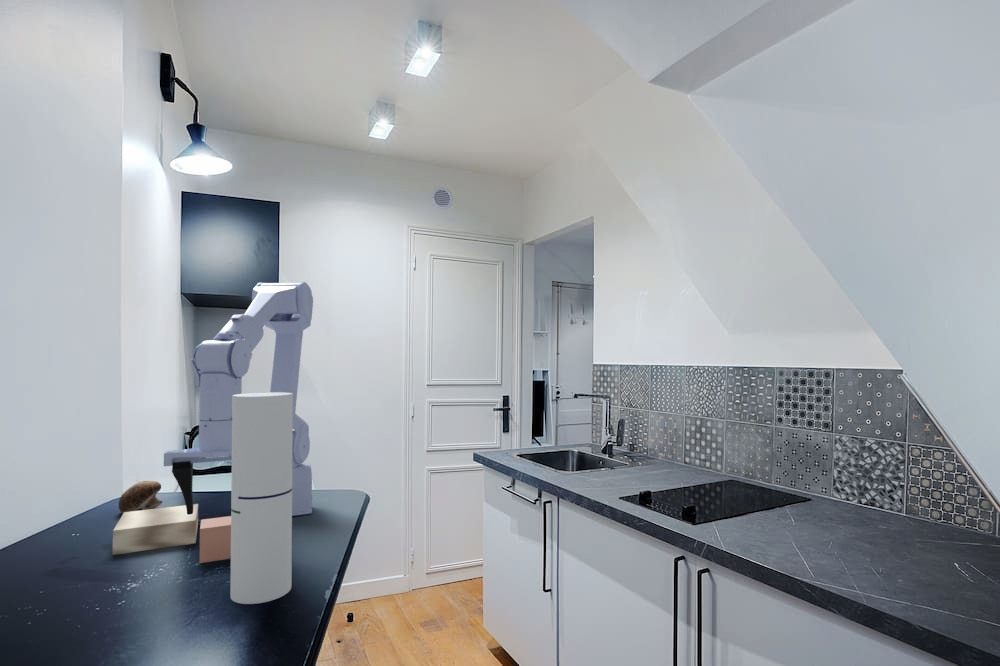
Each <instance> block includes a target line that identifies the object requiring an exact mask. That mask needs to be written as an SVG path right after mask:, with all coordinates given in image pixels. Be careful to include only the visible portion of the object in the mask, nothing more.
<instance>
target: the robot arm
mask: <svg viewBox="0 0 1000 666" xmlns="http://www.w3.org/2000/svg"><path fill="white" fill-rule="evenodd" d="M251 292H252V294H251V301H252V302H251V303H250V305H249V306H248V307H247V309H246V311H245V312H244V313H241V314H233V315H232V316H231V317H230V319H229V321H227V323H226V324H225V325H224V326H223V327H222V329H221V330H219V331H218V332H217V333H216V335H215V336H214V337H212V338H213V339H211V340H204V341H202V342H201V343H200V344H198V345H196V347H195V348H194V350H193V353H192V358H190V365H191V369H192V372H193V374H194V378H195V386H196V389H197V390H199V403H198V404H199V411H198V413H199V414H198V419H199V420H198V447H193V448H187V449H176V450H166V451H164V453H163V467H171V468H172V469H171V473H172V475H173V476H174V479H175V481H176V482H177V484H178V486H179V488H180V490H181V493H182V495H183V499H184V502H185V505H186V508H187V515H189V514H193V504H194V493H193V477H194V476H193V473H194V464H199V463H200V464H201V463H209V462H210V463H211V462H223V461H224V462H225V461H232V396H233V395H236V394H242V387H243V386H242V383H243V382H242V381H243V380H242V379H243V377H244V376H245V375H246V374H247V373H248V372H249V368H250V363H251V360H252V358H253V357H252V356H253V351H254V349H256V347H257V346H258V344H259V343H260V342H261V340H263V337H264V327H266V328H269V329H270V330H273V331H274V333H275V342H274V353H273V360H272V361H273V362H272V373H271V380H270V381H271V382H270V390H269V392H285V393H293V422H292V517H295V516H302V515H310V514H312V513H313V509H312V508H313V507H312V506H313V503H312V502H313V476H312V467H311V463H304V462H305V461H306V460H307V459H308V456H309V454H310V447H311V440H310V427H309V424H308V423H307V422H306V421H305V420H304V419H303V418H301V417H300V416H299V415H298V414H297V413H296V410H297V409H296V408H297V400H298V387H299V377H300V368H301V367H300V365H301V356H302V346H303V345H302V344H303V334H304V330H306V329H309V327H311V325H312V324H311V322H312V318H313V307H314V297H313V292H312V289H311V287H310V285H308V283H307V282H306V281H301V282H257V283H256V284H255V286H254V287H253V289H252V291H251Z"/></svg>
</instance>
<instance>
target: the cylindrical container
mask: <svg viewBox="0 0 1000 666" xmlns="http://www.w3.org/2000/svg"><path fill="white" fill-rule="evenodd" d="M292 422H293V393H285V392H270V391H269V392H249V393H248V392H247V393H241V394H236V395H233V396H232V455H231V456H232V460H231V487H230V488H231V492H230V493H231V494H230V497H231V499H230V502H231V503H230V507H231V508H230V509H231V510H230V512H231V513H230V514H231V515H230V516H231V558H230V590H229V591H230V594H229V595H230V600H231V601H232V602H234V603H237V604H242V605H254V604H255V605H256V604H262V603H267V602H271V601H273V600H276V599H279V598H281V597H283V596H286V594H287V595H288V593H289V592H290V591H291V590H292V578H293V577H292V574H293V573H292V571H293V570H292V567H293V566H292V563H293V562H292V557H293V556H292V553H293V551H292V547H293V544H292V543H293V542H292V541H293V540H292V539H293V538H292V536H293V535H292V533H293V530H292V529H293V516H292V431H293V429H292Z"/></svg>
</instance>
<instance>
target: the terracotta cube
mask: <svg viewBox="0 0 1000 666" xmlns="http://www.w3.org/2000/svg"><path fill="white" fill-rule="evenodd" d="M229 559H230V560H231V515H230V516H229V515H228V516H220V517H212V518H204V519H200V527H199V564H203V563H204V564H205V563H211V562H216V561H222V560H223V561H224V560H229Z"/></svg>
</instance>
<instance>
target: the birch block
mask: <svg viewBox="0 0 1000 666" xmlns="http://www.w3.org/2000/svg"><path fill="white" fill-rule="evenodd" d="M198 525H199V503H193V514H189V515H187V508H186V504H183V505H178V506H177V505H176V506H169V507H168V506H167V507H159V508H158V507H156V508H154V509H148V510H143V509H139V510H135V511H131V512H124V513H122V515H121V517H120V518H119V520H118V522H117V523H116V525H115V527H114V528H113V529H112V556H114V555H120V554H121V555H122V554H130V553H136V552H137V553H138V552H142V551H149V550H157V549H162V548H163V549H164V548H171V547H177V546H179V547H180V546H185V545H191V544H196V541H197V534H198Z"/></svg>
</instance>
